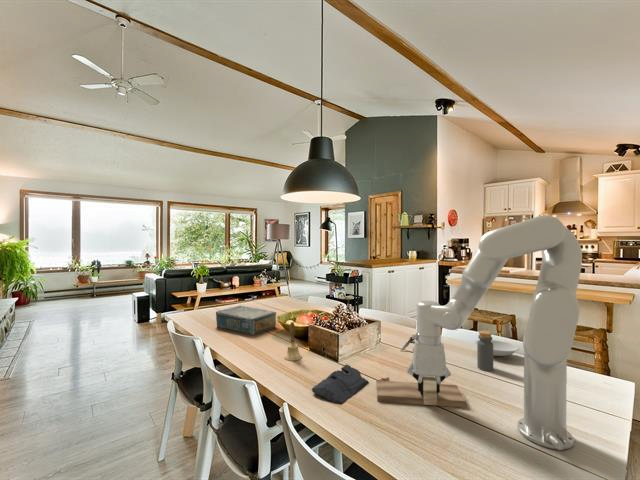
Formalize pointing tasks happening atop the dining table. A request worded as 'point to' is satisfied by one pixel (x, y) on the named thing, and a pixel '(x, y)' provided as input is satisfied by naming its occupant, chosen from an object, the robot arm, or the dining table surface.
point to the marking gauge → (429, 390)
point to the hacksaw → (407, 344)
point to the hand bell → (292, 347)
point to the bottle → (485, 351)
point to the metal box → (246, 319)
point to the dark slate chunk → (341, 385)
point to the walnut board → (417, 394)
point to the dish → (502, 348)
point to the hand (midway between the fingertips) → (428, 393)
